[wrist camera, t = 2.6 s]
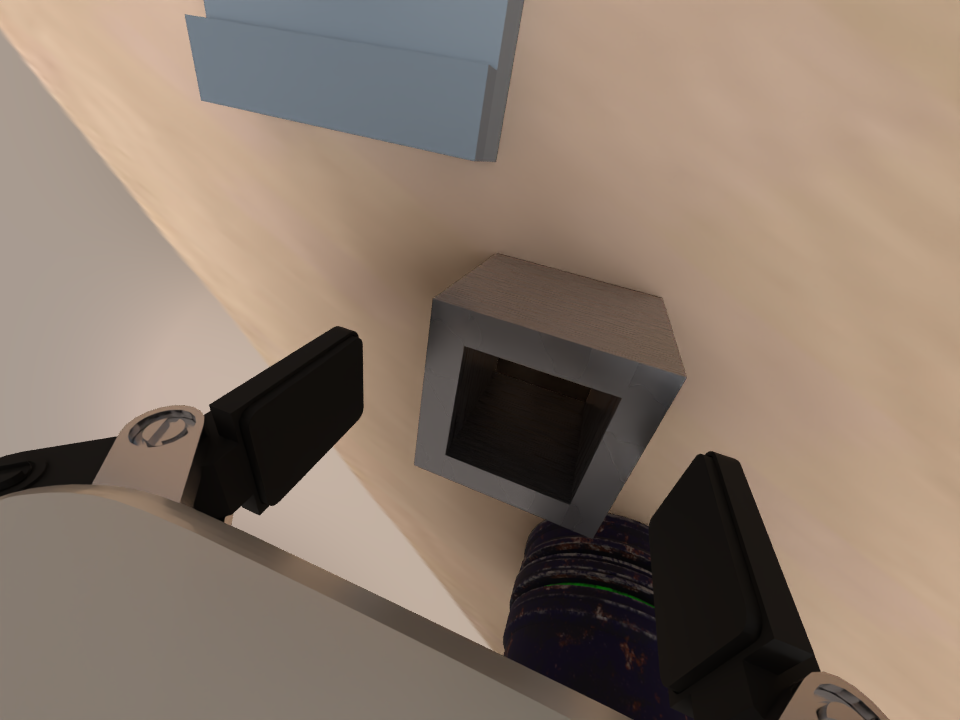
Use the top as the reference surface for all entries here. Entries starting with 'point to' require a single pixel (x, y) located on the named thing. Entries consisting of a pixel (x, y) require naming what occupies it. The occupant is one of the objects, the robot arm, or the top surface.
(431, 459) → the grey hollow block
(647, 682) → the dark blue barrel
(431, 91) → the shaft block
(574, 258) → the top surface
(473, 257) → the top surface
